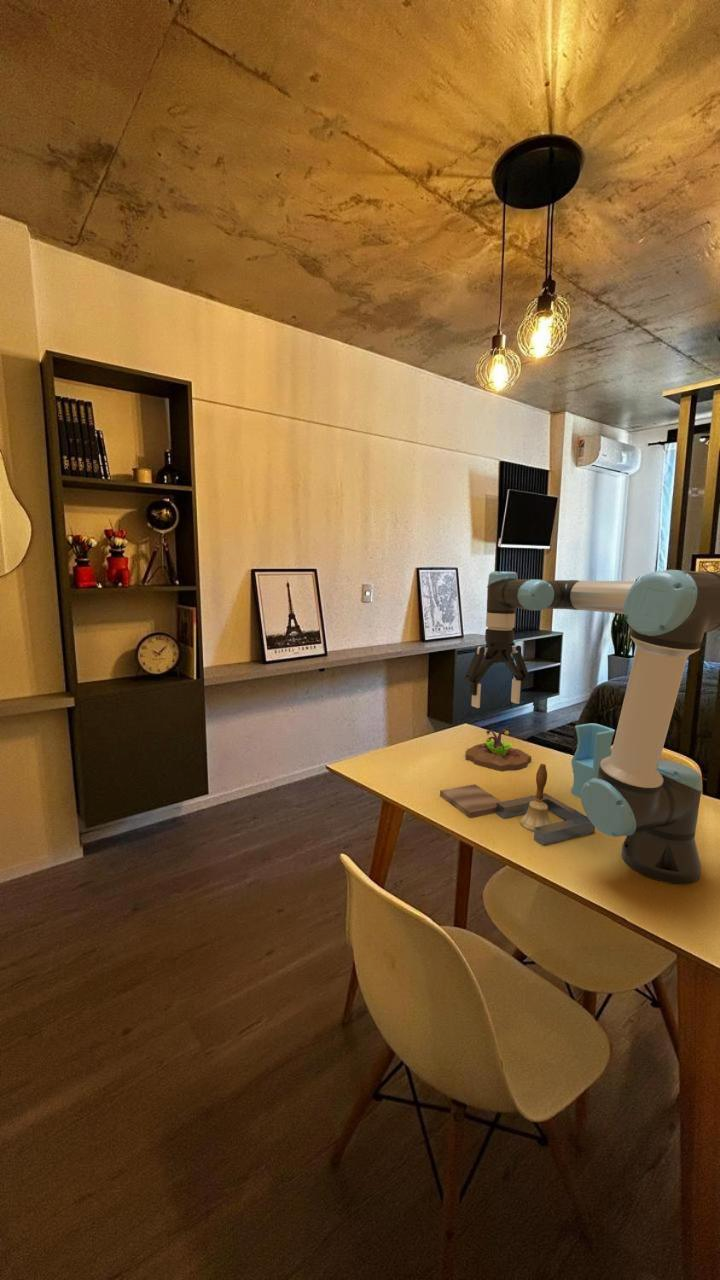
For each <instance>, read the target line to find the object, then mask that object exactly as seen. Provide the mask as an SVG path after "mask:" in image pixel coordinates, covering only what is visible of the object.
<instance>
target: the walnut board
mask: <svg viewBox="0 0 720 1280" xmlns="http://www.w3.org/2000/svg"><path fill="white" fill-rule="evenodd" d="M439 791H440V792H439V797H441V798H443V799H444V800H445V801H446V802H448V803H449V804H450V805H451V806H453V807H454V808H455V809H457V810H459V812H461V813H462V814H464V815H466V817H468V818H469V819H470V818H475V817H481V816H485V815H490V814H496V806H497V803H498V802H503V801H502V800H500V799H499V798H497V797H496V796H494V795H493V794H491V793H489V792H488V791H486V790H485V789H483V788H482V787H480V786H479V785H477V784H470V785H465V786H459V787H453V788H446V789H442V790H439Z"/></svg>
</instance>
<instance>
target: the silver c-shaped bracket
mask: <svg viewBox="0 0 720 1280" xmlns="http://www.w3.org/2000/svg"><path fill="white" fill-rule="evenodd" d="M535 800H536V794H534V795H530V796H524V797H519V798H513V799H508V800H503V801H502V802H498V803H497V806H496V813H495V814H496V815H498V816H499V817H501V818H502V819H504V820H505V819H508V818H513V817H518V816H524V815H525V814H526V813H527V811H528V807H529V803H530V802H531V801H535ZM543 803H545V804H546V805H547V806H548V812H550V813H552V814H553V815H555V816H557V817H559V818H561V820H563V821H559V822H552V823H553V824H548V825H544V826H540V827H535V830H534V831H533V833H534V834H533V840H534V841H535V842H537V843H538V844H540V845H541V846H547V845H551V844H556V843H559V842H562V841H566V840H571V839H575V838H579V837H583V836H587V835H591V834H594V833H595V830H596V827H595V826H594V825H593V824H592V823H591V822H590V820H589V819H588V817H587V815H585V814H583V813H581V812H579V811H578V810H576V809H574V808H572V807H571V806H569V805H567V804H565V803H564V802H561V801H560V800H558V799H556V798H554V797H552V796H551V795H550V794H547V793H546V792H543Z"/></svg>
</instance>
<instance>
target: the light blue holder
mask: <svg viewBox="0 0 720 1280" xmlns="http://www.w3.org/2000/svg"><path fill="white" fill-rule="evenodd" d="M574 727H575V731H576V736H577V746H576V750H575V752H574V754H573V756H572V759H571V767H572V772H573V781H572V782H573V783H572V784H573V785H572V789H571V791H570V793H571V794H572V795H574V796H576V797H578V798H580V799H581V791H582V787H583V786H584V784H585V783H586V782H588V781H589V780H591V779H593V778H597V775H598V771H599V767H600V763H601V761H602V759H604V758H606V757H609V756H611V752H612V748H611V747H612V742H613V737H614V735H615V733H616V730H615V729H614V728H612V727H608V726H605V725H602V724H599V723H594V722H593V723H592V722H591V723H590V722H589V723H583V724H578V725H575V726H574Z"/></svg>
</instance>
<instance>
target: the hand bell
mask: <svg viewBox="0 0 720 1280" xmlns="http://www.w3.org/2000/svg"><path fill="white" fill-rule="evenodd" d="M546 767H547V765H546V764H545V763H540V764H539V767H538V769H537V772H536V776H535V783H536V788H537V789H536V794H535V795H536V800H535V801H531V802H530V803H529V807H528V811H527V813H526V814H523V815H522V817H520V819H519V824H520V826H522V827H523V828H525V829H526V830H529V831H531V832H534V830H535V827H540V826H544V825H548V824H553V823H554V822H552V821H551V819H550V816H549V811H548V806H547V805H546V804H545V803H543V793H544V790H545V786H546V784H547V780H548V772H547V768H546Z"/></svg>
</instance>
